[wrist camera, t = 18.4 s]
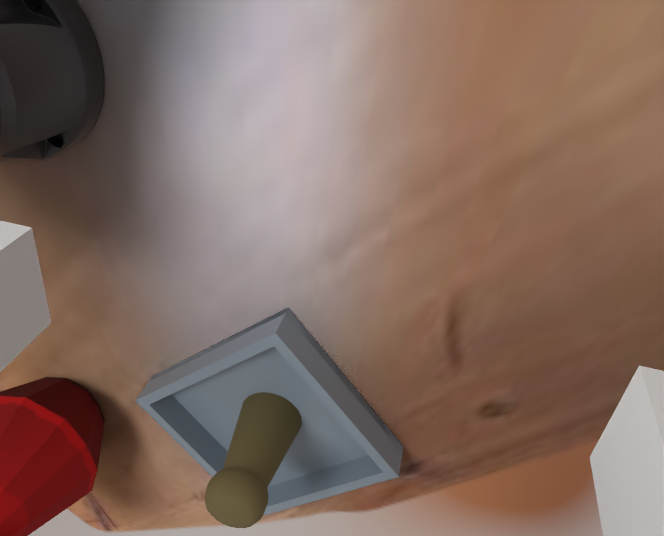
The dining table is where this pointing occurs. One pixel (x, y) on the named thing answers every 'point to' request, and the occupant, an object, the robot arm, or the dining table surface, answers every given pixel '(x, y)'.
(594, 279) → the dining table surface
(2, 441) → the bottle
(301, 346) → the tray
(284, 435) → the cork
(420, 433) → the dining table surface
